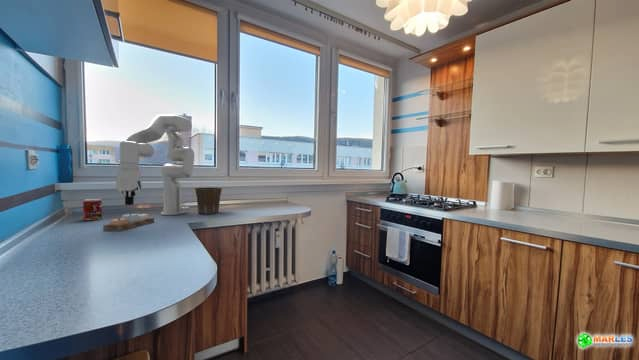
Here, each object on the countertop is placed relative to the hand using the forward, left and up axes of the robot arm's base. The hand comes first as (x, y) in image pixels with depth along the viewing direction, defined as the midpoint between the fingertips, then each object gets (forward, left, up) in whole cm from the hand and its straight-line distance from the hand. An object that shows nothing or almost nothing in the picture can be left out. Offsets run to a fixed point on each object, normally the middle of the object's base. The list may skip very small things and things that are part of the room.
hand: (129, 204), depth 125 cm
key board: (0, 0, -11) cm, 11 cm away
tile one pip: (-4, -5, -10) cm, 12 cm away
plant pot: (-40, -22, -11) cm, 47 cm away
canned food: (+18, -30, -11) cm, 37 cm away
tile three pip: (+4, +5, -10) cm, 11 cm away
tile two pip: (0, 0, -9) cm, 9 cm away
